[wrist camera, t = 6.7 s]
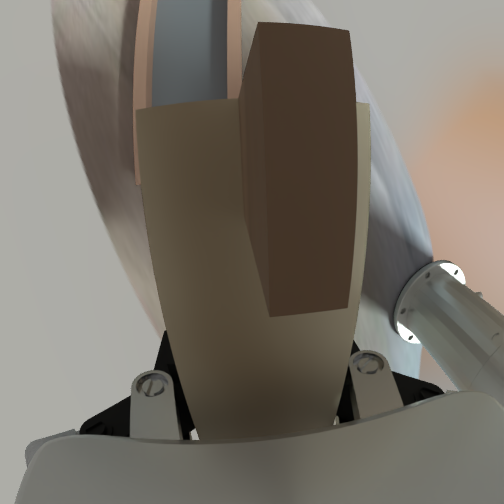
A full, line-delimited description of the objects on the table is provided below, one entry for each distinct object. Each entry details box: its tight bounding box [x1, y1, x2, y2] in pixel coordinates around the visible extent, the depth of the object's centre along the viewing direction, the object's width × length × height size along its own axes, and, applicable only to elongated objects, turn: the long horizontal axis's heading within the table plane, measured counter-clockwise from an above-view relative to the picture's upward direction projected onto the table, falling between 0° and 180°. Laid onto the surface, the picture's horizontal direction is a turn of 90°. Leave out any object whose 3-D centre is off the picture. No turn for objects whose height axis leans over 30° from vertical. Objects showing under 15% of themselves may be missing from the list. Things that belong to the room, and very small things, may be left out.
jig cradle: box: [133, 0, 242, 185], centre depth 21 cm, size 9×20×3 cm, turn 1°
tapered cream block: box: [136, 22, 371, 440], centre depth 8 cm, size 4×16×9 cm, turn 2°
